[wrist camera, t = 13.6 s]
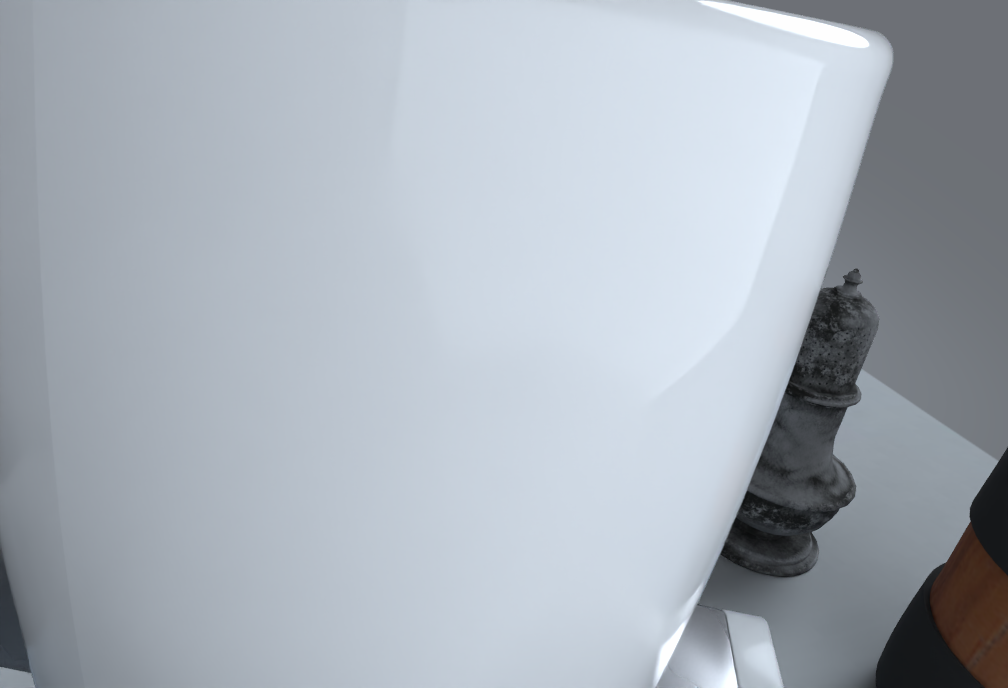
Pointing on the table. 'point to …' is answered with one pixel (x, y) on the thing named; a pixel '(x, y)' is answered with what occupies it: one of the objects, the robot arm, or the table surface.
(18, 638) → the robot arm
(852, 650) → the table surface
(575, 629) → the drinking glass
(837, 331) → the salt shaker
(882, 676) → the mug
